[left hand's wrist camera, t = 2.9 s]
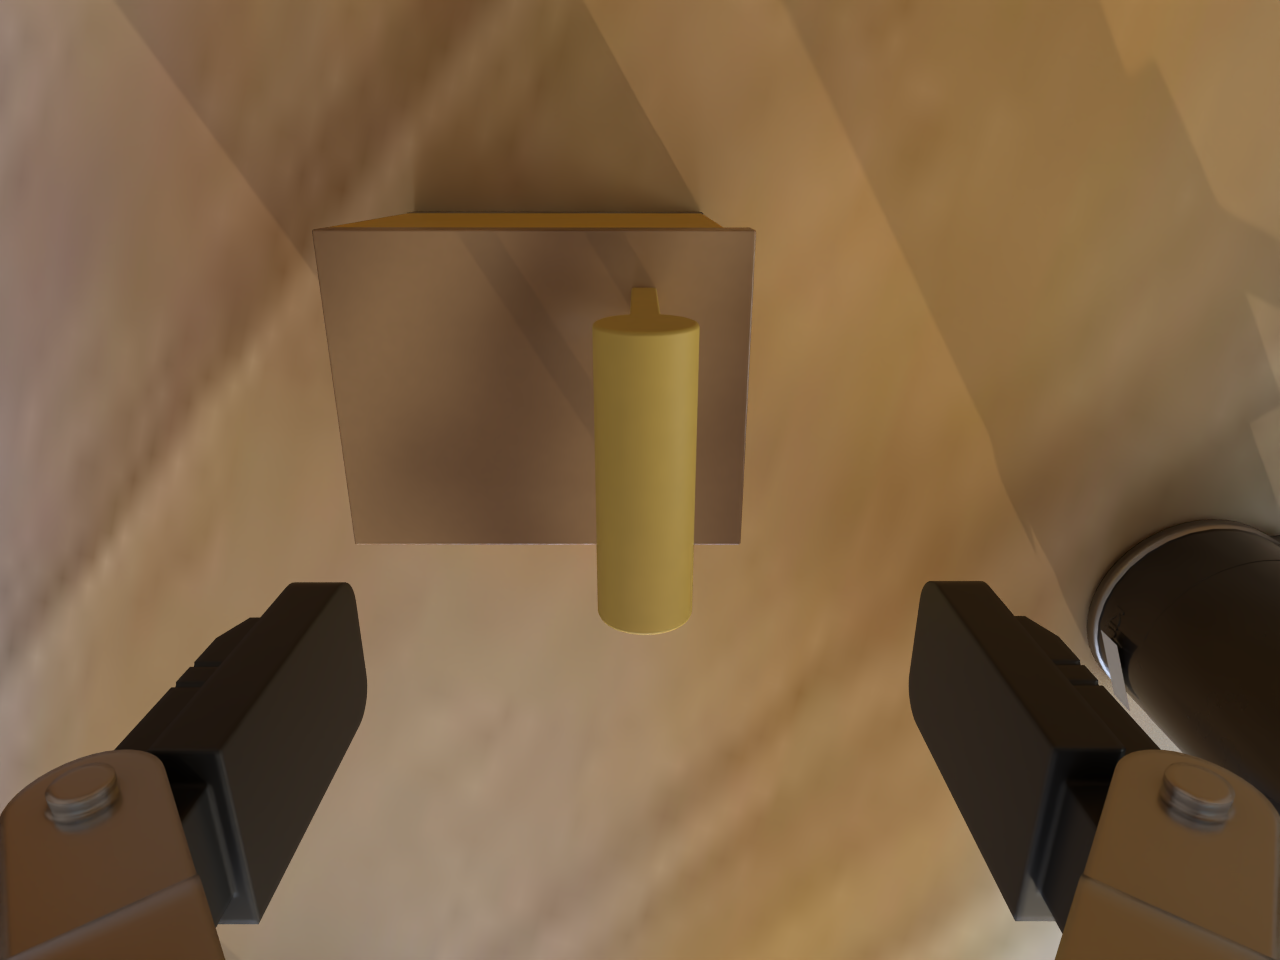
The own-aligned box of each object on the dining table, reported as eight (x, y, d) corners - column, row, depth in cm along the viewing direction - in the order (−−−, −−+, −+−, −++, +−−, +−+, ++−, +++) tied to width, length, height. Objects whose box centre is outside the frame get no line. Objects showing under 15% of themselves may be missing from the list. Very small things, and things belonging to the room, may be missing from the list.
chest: (701, 212, 32) (726, 226, 23) (695, 440, 35) (714, 530, 26) (413, 211, 32) (325, 226, 23) (434, 440, 35) (365, 530, 26)
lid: (751, 227, 23) (812, 257, 15) (736, 530, 26) (779, 689, 18) (325, 226, 23) (154, 256, 15) (365, 530, 26) (244, 689, 18)
